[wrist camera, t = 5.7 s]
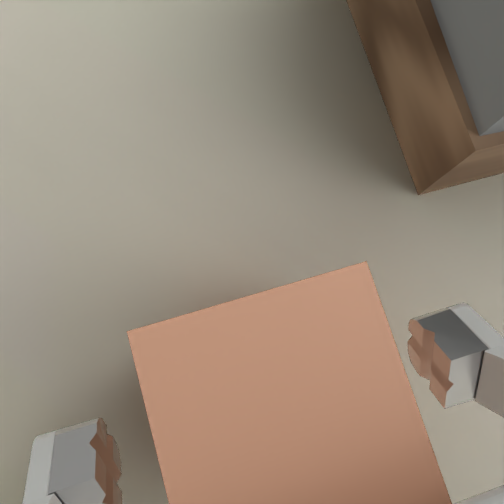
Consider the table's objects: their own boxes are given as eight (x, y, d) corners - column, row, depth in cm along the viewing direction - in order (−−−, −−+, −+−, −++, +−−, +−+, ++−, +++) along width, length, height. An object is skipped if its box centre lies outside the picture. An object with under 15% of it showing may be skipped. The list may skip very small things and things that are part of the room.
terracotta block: (169, 338, 16) (127, 331, 9) (302, 298, 17) (366, 261, 9) (207, 484, 15) (195, 612, 8) (346, 437, 16) (455, 514, 8)
